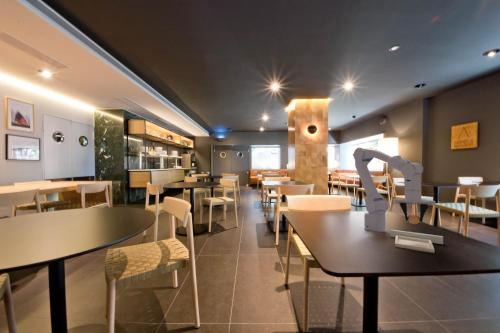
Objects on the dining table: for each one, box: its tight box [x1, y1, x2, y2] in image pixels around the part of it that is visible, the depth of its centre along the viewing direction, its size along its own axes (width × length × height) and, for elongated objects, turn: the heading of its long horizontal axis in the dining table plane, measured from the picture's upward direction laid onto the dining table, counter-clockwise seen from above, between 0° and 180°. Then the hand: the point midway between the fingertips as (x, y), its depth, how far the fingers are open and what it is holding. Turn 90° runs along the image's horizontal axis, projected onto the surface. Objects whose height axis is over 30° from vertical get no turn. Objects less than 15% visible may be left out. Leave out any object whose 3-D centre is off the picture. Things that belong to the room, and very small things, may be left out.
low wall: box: [390, 229, 444, 245], centre depth 91 cm, size 18×1×3 cm, turn 54°
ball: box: [407, 213, 420, 225], centre depth 91 cm, size 4×4×4 cm
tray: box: [394, 235, 435, 254], centre depth 85 cm, size 12×12×1 cm
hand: (413, 220), depth 91 cm, fingers closed on ball, 4 cm apart
